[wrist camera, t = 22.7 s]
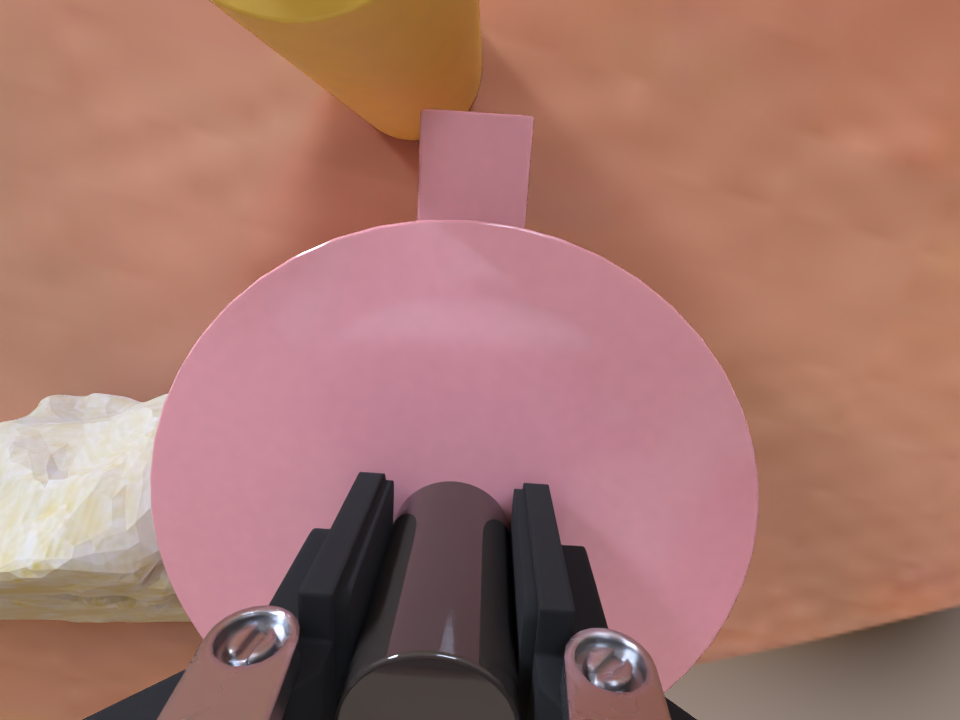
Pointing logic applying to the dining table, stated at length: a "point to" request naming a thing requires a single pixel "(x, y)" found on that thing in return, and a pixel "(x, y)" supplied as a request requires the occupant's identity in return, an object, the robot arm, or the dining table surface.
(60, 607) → the cheese
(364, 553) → the robot arm
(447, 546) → the lid
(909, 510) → the dining table surface
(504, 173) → the pot
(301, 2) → the yellow stepped cylinder
